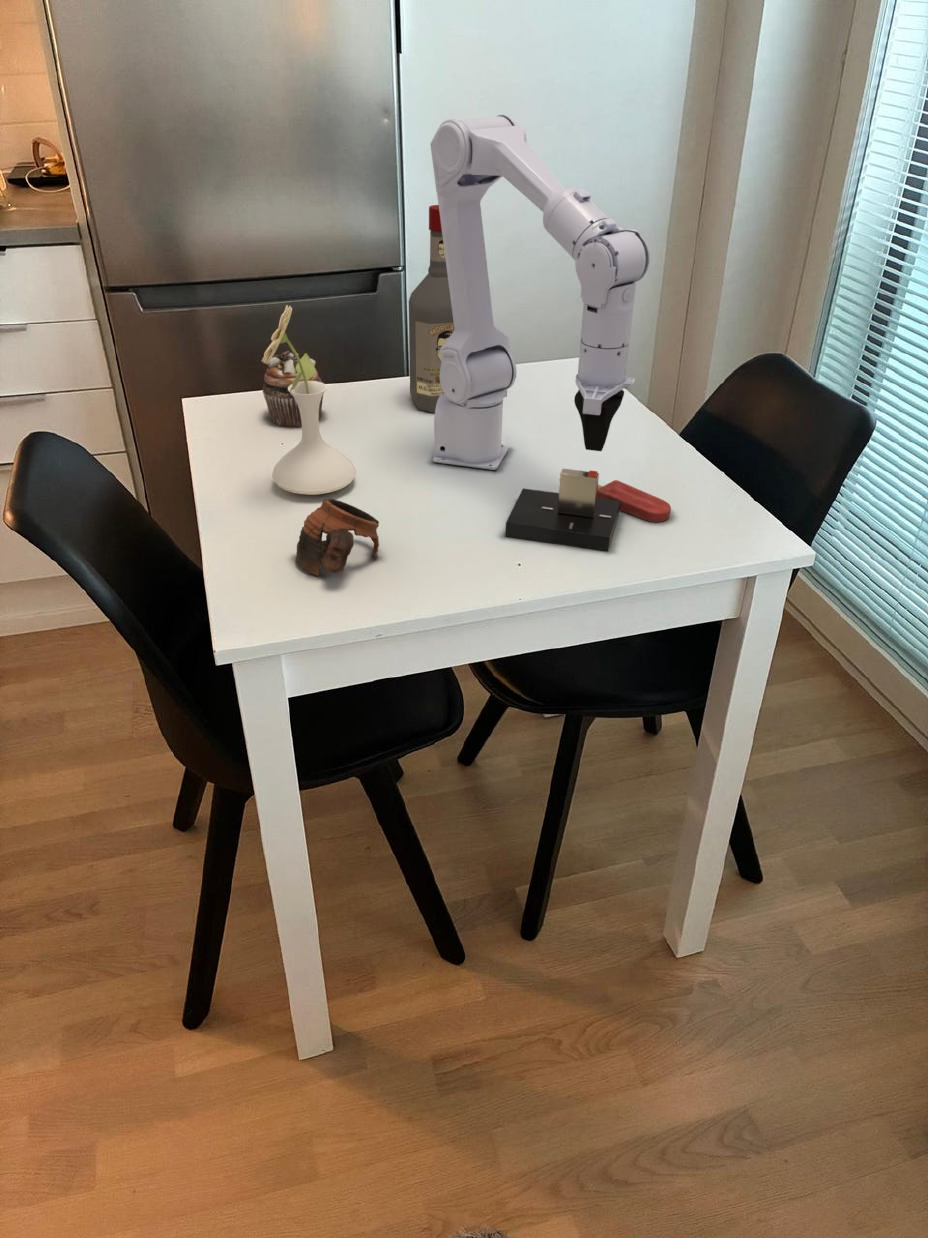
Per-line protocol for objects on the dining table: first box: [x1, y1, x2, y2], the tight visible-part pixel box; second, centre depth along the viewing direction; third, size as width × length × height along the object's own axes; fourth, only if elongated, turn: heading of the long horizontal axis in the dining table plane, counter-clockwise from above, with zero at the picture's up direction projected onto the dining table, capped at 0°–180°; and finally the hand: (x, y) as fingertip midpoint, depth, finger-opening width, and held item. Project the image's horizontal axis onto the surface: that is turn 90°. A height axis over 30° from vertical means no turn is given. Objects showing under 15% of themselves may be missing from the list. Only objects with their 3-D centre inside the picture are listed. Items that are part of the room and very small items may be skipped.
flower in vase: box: [261, 304, 357, 496], centre depth 123 cm, size 13×11×25 cm
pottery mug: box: [295, 497, 380, 577], centre depth 112 cm, size 12×10×8 cm
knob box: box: [504, 487, 620, 552], centre depth 121 cm, size 13×10×2 cm
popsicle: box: [597, 479, 672, 523], centre depth 127 cm, size 4×2×15 cm
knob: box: [557, 468, 600, 518], centre depth 119 cm, size 5×2×6 cm, turn 75°
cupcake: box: [261, 349, 324, 428], centre depth 147 cm, size 10×10×10 cm
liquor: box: [408, 204, 454, 414], centre depth 148 cm, size 9×9×30 cm
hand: (594, 448), depth 119 cm, fingers closed
